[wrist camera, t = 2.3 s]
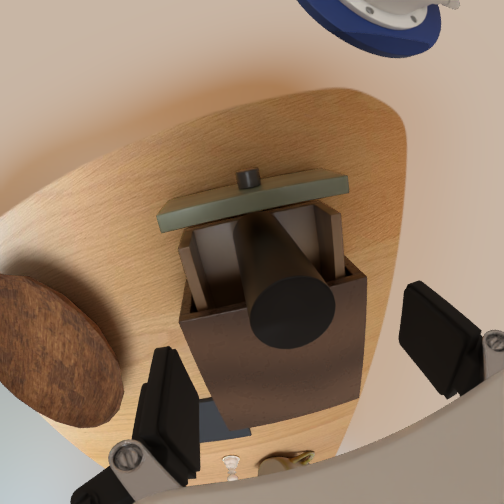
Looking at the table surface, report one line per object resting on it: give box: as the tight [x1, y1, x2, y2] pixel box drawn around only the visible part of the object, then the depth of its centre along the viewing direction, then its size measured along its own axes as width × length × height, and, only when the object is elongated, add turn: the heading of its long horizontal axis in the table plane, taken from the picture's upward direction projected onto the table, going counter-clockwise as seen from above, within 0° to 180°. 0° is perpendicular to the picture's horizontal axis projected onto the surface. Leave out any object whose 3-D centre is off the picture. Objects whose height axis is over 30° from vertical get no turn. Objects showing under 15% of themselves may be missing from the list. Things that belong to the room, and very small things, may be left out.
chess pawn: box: [223, 456, 240, 481], centre depth 35 cm, size 3×3×5 cm
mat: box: [199, 398, 251, 443], centre depth 32 cm, size 10×10×1 cm
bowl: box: [0, 274, 124, 428], centre depth 23 cm, size 20×22×5 cm
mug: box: [258, 451, 314, 476], centre depth 37 cm, size 8×10×10 cm
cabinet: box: [179, 255, 367, 431], centre depth 25 cm, size 15×14×7 cm
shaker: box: [233, 211, 336, 349], centre depth 17 cm, size 4×4×11 cm
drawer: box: [156, 167, 349, 312], centre depth 22 cm, size 15×12×5 cm
